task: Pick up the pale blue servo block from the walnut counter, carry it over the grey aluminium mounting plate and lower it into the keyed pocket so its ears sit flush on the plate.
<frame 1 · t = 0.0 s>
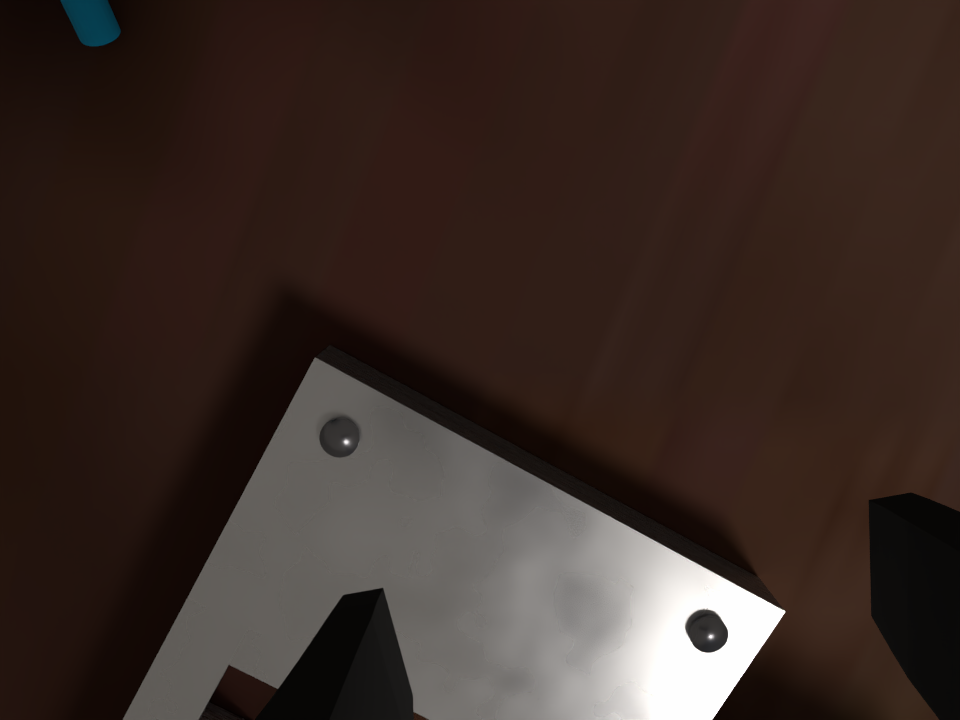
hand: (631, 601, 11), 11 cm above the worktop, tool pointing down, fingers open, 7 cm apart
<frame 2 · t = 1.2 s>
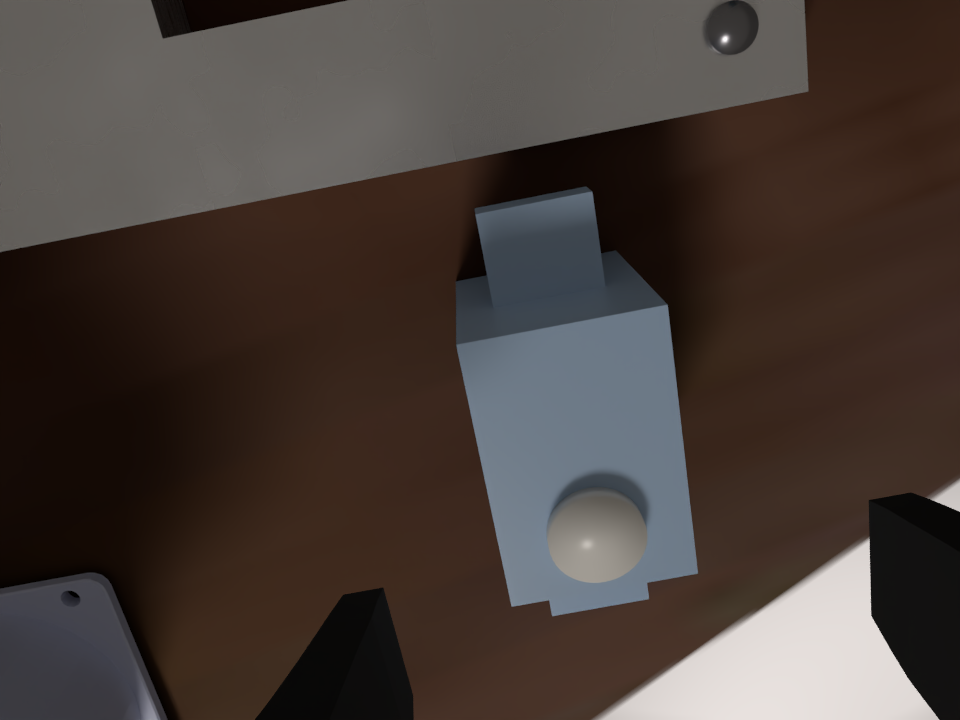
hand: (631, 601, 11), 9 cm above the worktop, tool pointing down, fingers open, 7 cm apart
servo: (554, 376, 20), on the worktop
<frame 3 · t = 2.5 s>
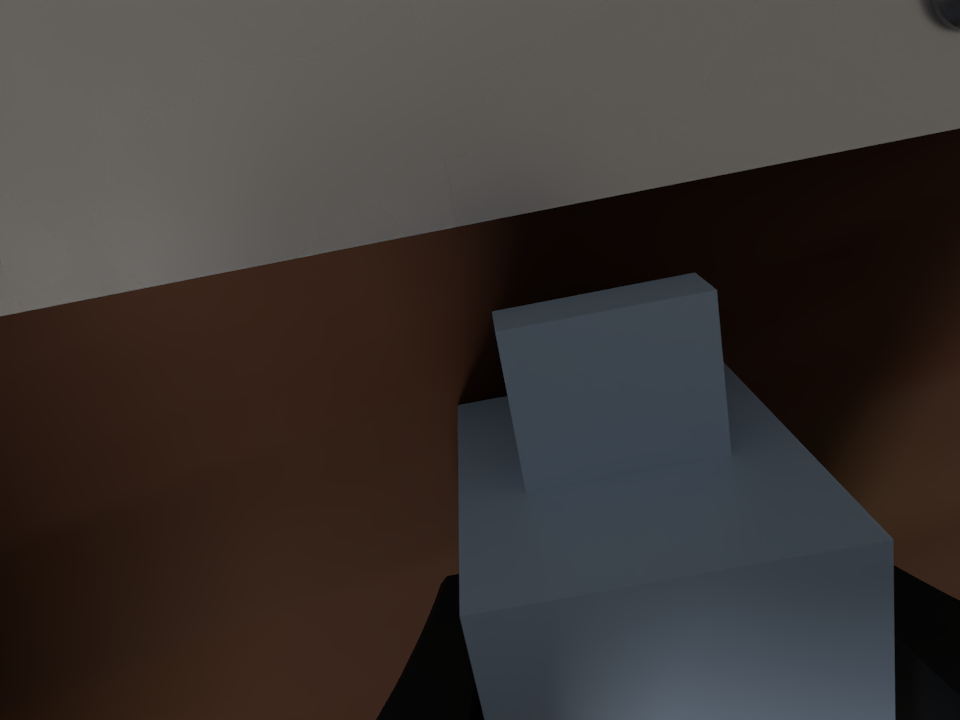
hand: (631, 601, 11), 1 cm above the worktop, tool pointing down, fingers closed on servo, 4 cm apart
servo: (612, 547, 13), on the worktop, touching gripper
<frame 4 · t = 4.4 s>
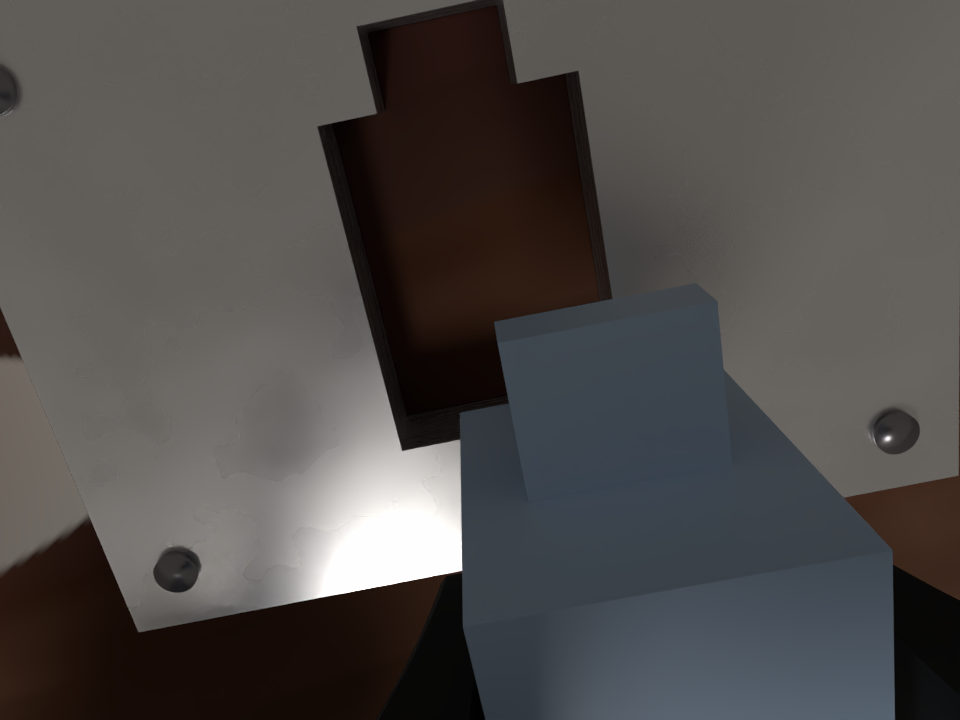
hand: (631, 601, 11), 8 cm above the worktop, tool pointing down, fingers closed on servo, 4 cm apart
plate: (480, 256, 18), on the worktop
servo: (614, 553, 13), point 7 cm above the worktop, touching gripper
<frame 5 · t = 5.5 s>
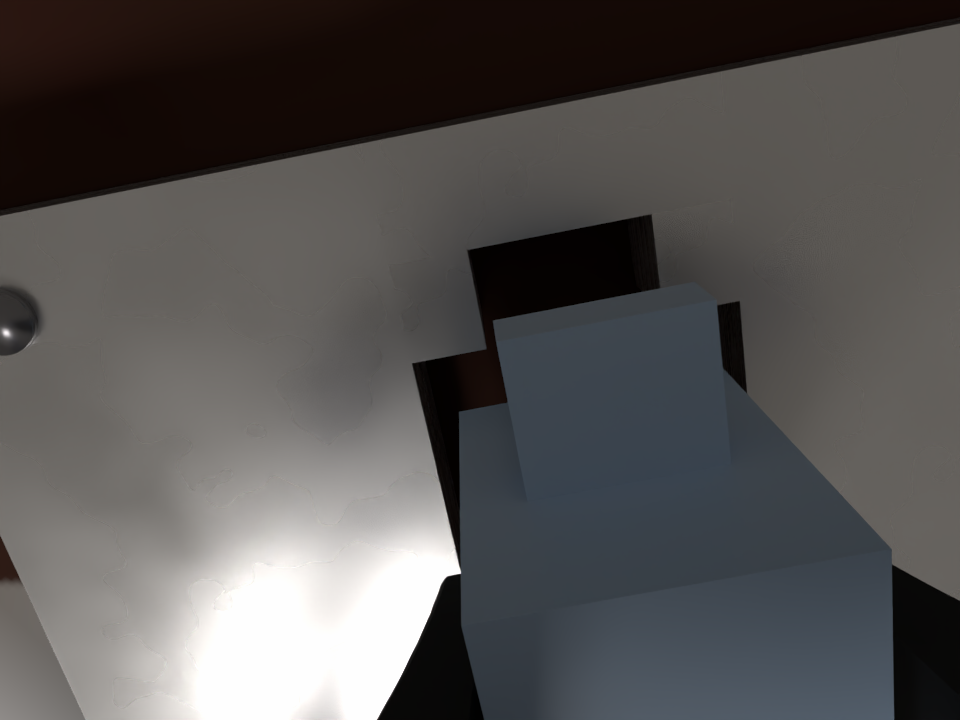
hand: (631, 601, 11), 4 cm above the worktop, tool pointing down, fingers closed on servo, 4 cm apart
plate: (586, 473, 15), on the worktop
servo: (613, 552, 13), point 3 cm above the worktop, touching gripper
when the fingers open (3 cm above the worktop, at t = 6.2 s): servo drops 1 cm, resting in plate.
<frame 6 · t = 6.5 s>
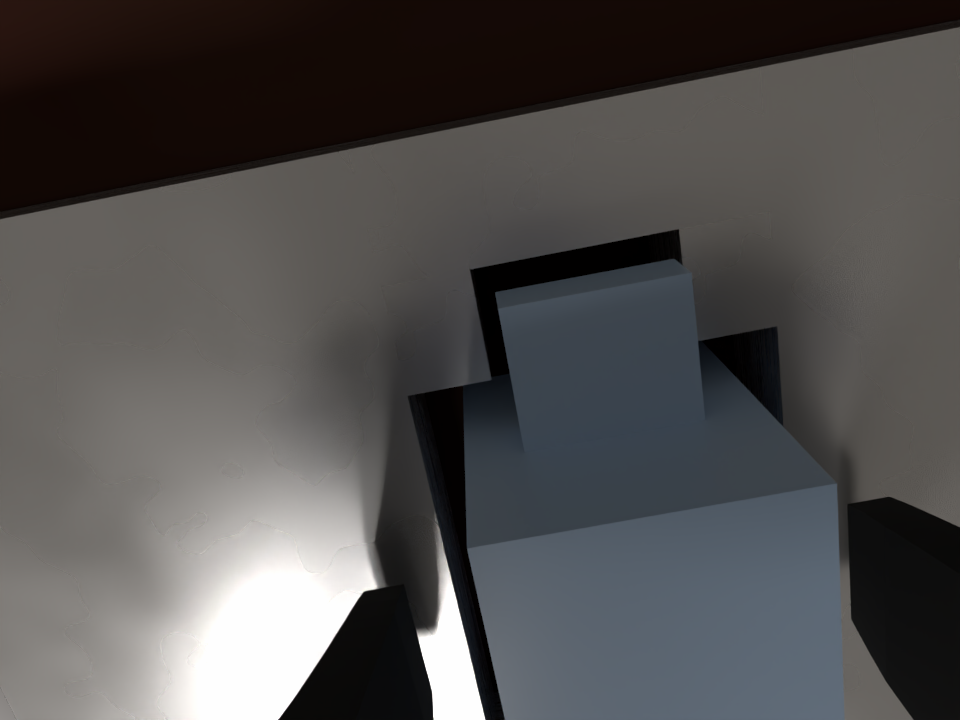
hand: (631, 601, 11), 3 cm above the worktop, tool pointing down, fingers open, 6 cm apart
plate: (600, 509, 14), on the worktop
servo: (603, 513, 14), resting in plate
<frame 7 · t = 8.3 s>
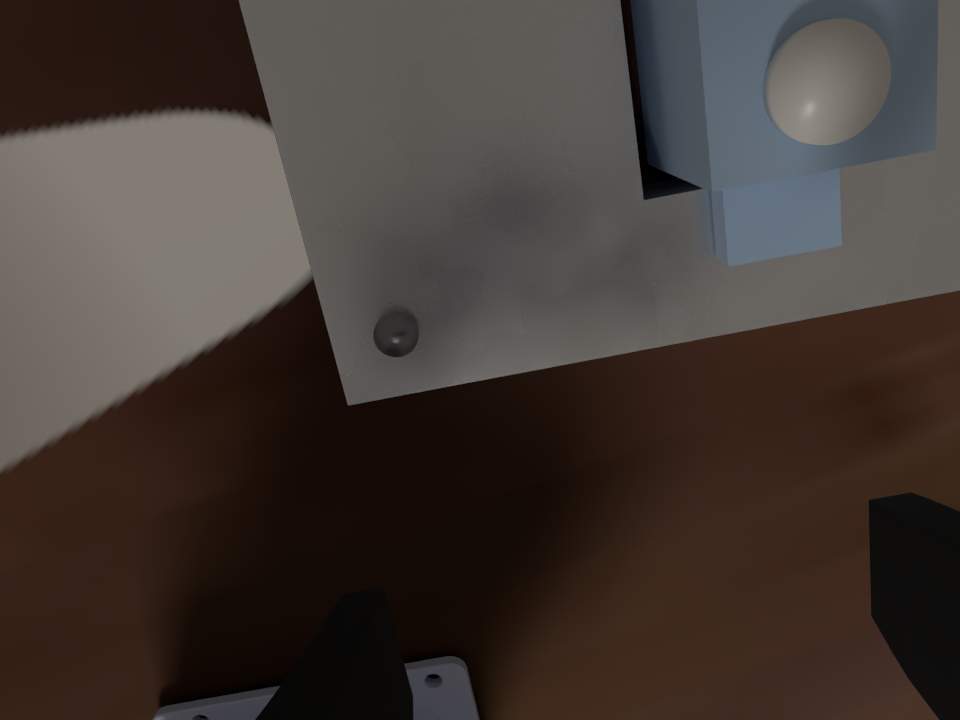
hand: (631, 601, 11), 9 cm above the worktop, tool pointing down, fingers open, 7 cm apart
plate: (719, 5, 17), on the worktop
servo: (720, 13, 18), resting in plate
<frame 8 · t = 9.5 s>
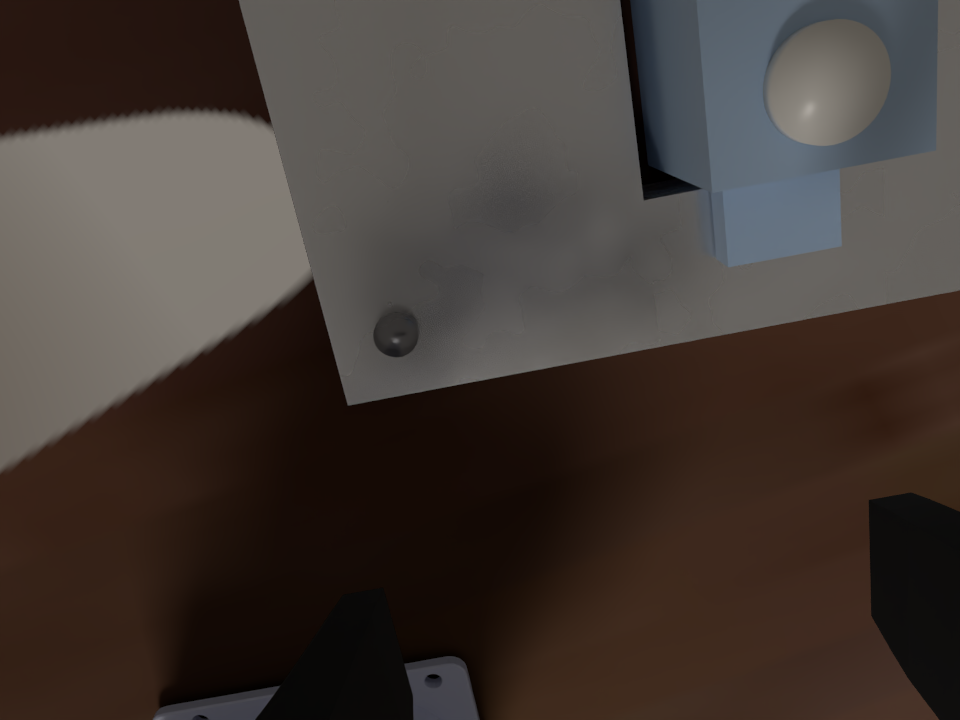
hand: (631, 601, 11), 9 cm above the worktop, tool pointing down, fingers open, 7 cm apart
plate: (719, 5, 17), on the worktop
servo: (720, 14, 18), resting in plate
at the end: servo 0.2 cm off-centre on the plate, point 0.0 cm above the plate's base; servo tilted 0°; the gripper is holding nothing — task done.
